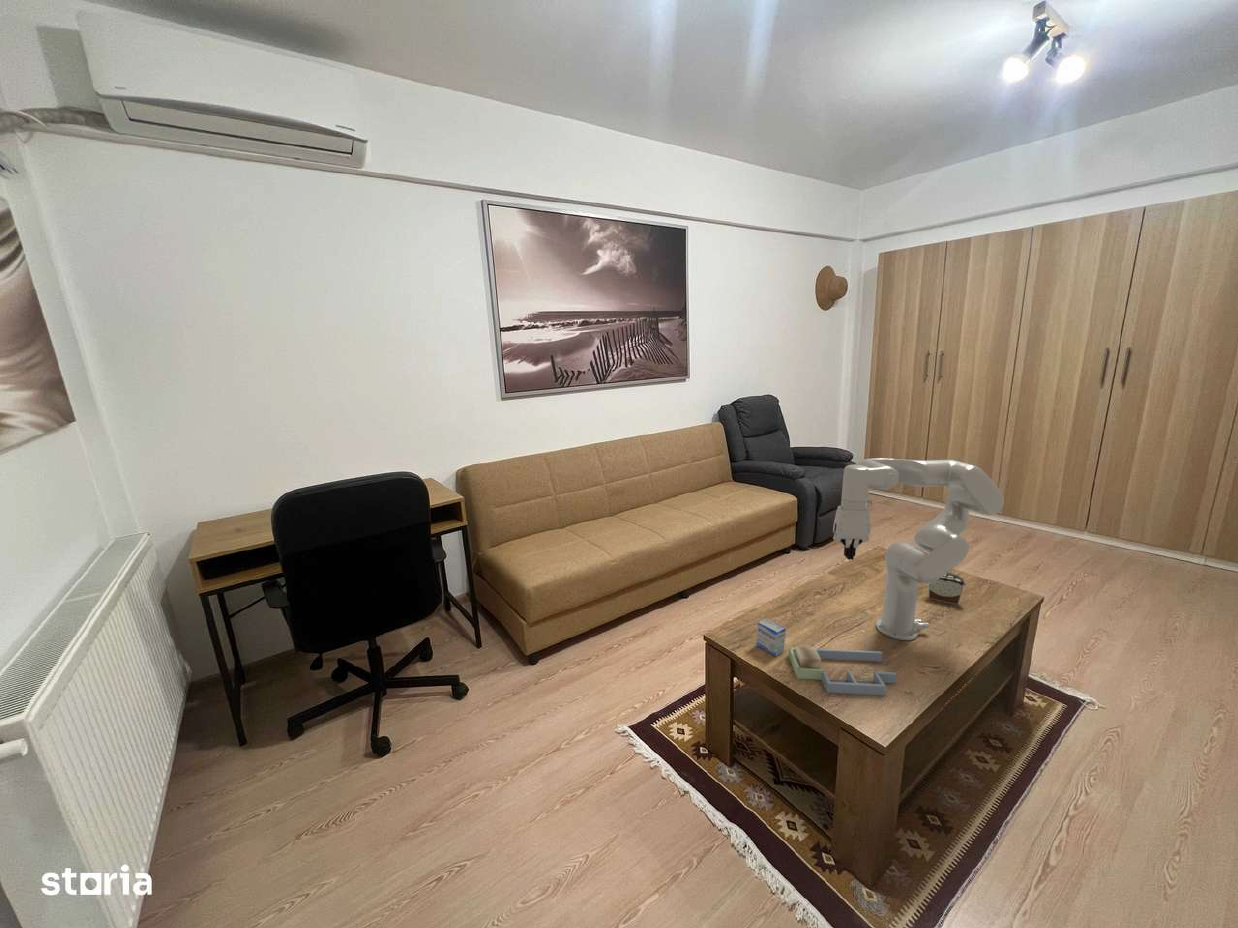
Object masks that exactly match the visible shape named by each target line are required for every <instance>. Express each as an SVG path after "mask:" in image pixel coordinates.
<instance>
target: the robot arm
mask: <svg viewBox="0 0 1238 928" xmlns="http://www.w3.org/2000/svg"><path fill="white" fill-rule="evenodd" d="M842 478H843V479H842V491H841V501H840V505H838V506H837V509H836V511H835V515H834V516H835V517H834V521H833V526H832V527H833V528H832V533H833V537H832V539H833V541H835V542H839V543H841V544H842V545H844V547H843V556H844V557H845V558H846V559H847V560H852V561H853V560H855V559H854V557H856V550H857V548H858V546H860V545H861V544H862V543H866V542H867V543H868V542H870V535H871V516H870V515H871V513H870V509H869V506H872V505H873V500H869V493H870V489H871V490H883V491H884V490H890V489H892V488H894V487H895V486H897V484H902V485H906V486H909V487H915V488H930V487H931V488H933V487H934V488H935V487H948V488H947V490H946V500H945V506H944V509H942V512H941V513H939V514H938V515H937V516H936V517H934V518H933V519H932V520H930V521H929V522H928V523H927V524H925V525H924V526H922V527H921V528H920V529H919V530H918V531H917V532H916V533H915V534H914V535H913V536H914V537H913V541H914V544H916V546H915V545H914V544H913V545H912V544H911V543H908V542H904V541H896V542H893V543H892V544H890V545H889V546H888V547H887V549H886V551H885V566H886V579H885V580H886V581H885V588H884V598H883V606H882V617H881V618H879V619H877V620H876V624H875V626H876V629H877V630H878V631H879V632H880V633H881V634H883V635H884V636H887V637H889V638H891V639H895V640H901V641H912V640H915V639H916V638H918V636H919V630H920V629H925V630H926V629H928V630H929V629H930V624H929V622H922V619H918V618H917V619H916V618H915V617H916V611H917V603H918V602H917V601H918V593H919V586H920V584H921V585H922V584H923V585H929V584H931V583H933V582H935V581H937V580H938V579H940V578H941V577H942V576H944V575H945V574H947V573H948V572H949V573H950V572H951V571H953V569H954V568H956V567H958V565H960V564H961V563H962V562H963V561H964V560H965V559H966V557H967V556H968V554H969V551H970V545H969V542H968V540H967V539H966V538H965V537H964V536H962V534H963V533H964V532H965V531H966V530H967V528H968V526H969V524H970V510H971V511H973V512H977V513H978V514H982V515H985V516H991V515H992V516H993V515H996V514H998V513H999V512H1000V511H1001V510H1003V507H1004V505H1005V498H1004V494H1003V492H1002V491H1001V490H1000V489H999V487H998V486H997V485H996V484H995V482H994V481H993V480H992V479H991V478H990V476H989V475H988V474H987V473H986V472H985V471H984V470H983V469H982V468H980V467H979V466H976V465H974V464H970V463H967V462H962V461H959V460H955V459H930V460H926V459H925V460H923V459H921V460H915V459H899V458H898V459H896V458H865V459H862V460H860V461H858V462H857V463H856V464H849V465H846V466H845V467H844V469H843V477H842ZM850 540H851V541H850Z"/></svg>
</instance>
